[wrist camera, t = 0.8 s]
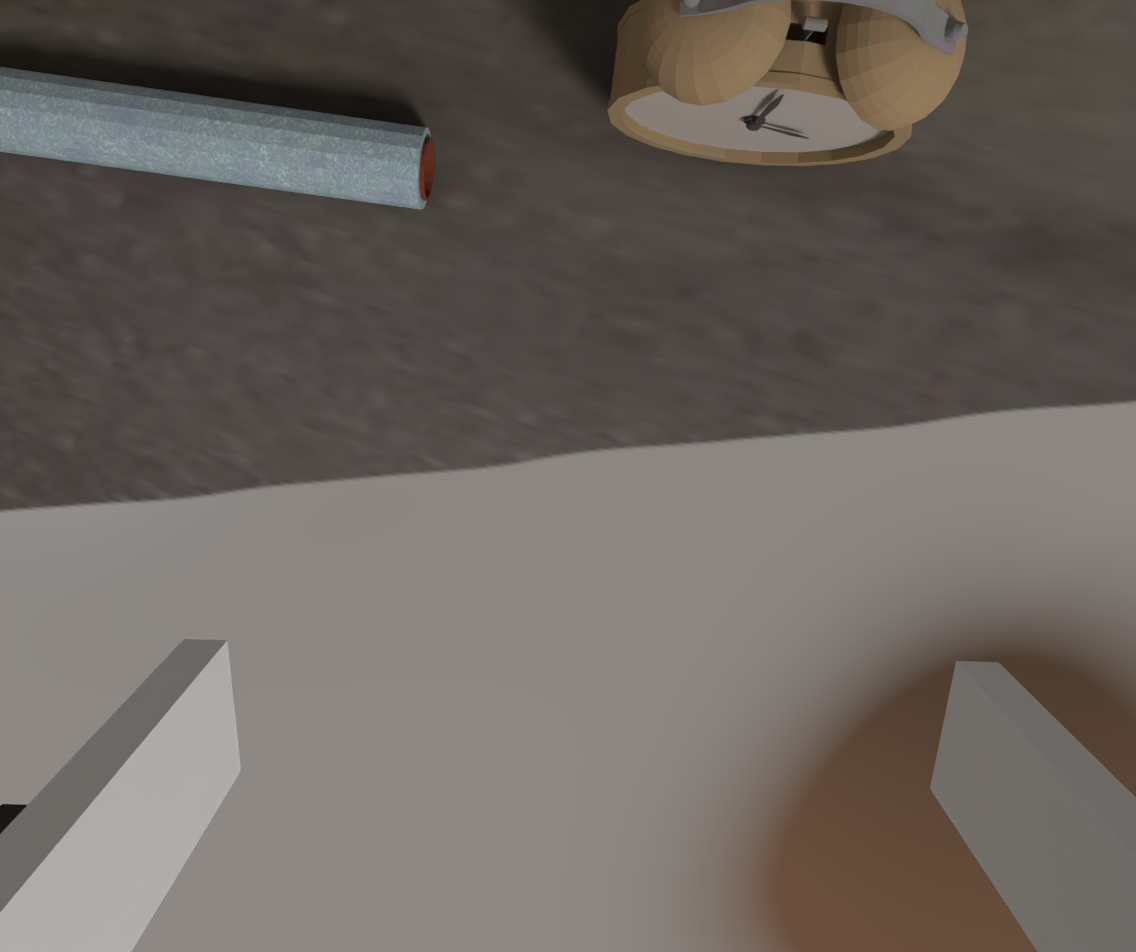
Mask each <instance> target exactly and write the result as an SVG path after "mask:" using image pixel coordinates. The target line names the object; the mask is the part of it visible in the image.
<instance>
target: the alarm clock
mask: <svg viewBox="0 0 1136 952" xmlns="http://www.w3.org/2000/svg"><path fill="white" fill-rule="evenodd" d="M967 34H968V26H967V24H966V20H965V14H964V10H963V7H962V4H961V0H640V1H638V2H636V3H634V4H633V5H631V6H630V7H629V8H628V10H627V11H626V13H625V14H624V16H623V17H622V19H621V20H620V22H619V23H618V28H617V36H618V40H617V49H616V57H615V65H614V73H613V82H612V90H611V98H610V101H609V102H608V110H607V111H608V114H609V117H610V121H611V124H613V125H614V126H615V127H617V128H618V129H619V130H620V131H622V132H623V133H624V134H626V135H627V136H629V137H632V138H634V139H636V140H639V141H641V142H644V143H646V144H648V145H651V146H653V147H657V148H661V149H664V150H668V151H672V152H675V153H679V154H683V155H688V156H693V157H699V158H705V159H711V160H717V161H723V162H733V163H744V164H755V165H779V166H809V165H826V164H840V163H846V162H852V161H858V160H864V159H870V158H874V157H877V156H879V155H882V154H885V153H888V152H891V151H894V150H897V149H898V148H899V147H900V146H901V145H902V144H904V143H905V142H906V141H907V140H908V139H909V138H910V137H911V132H912V123H915V122H917V121H919V120H921V119H923V118H925V117H926V116H927V115H928V114H929V113H931V112H932V111H933V110H934V109H935V108H936V107H937V106H938V105H939V104H940V103H941V102H942V101H943V100H944V99H945V98H946V96H947V95H948V93H949V91H950V90H951V88H952V86H953V84H954V82H955V81H956V79H957V77H958V75H959V72H960V68H961V65H962V62H963V58H964V55H965V48H966V38H967Z"/></svg>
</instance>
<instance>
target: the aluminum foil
mask: <svg viewBox="0 0 1136 952" xmlns="http://www.w3.org/2000/svg"><path fill="white" fill-rule="evenodd" d="M0 152H8V153H15V154H22V155H29V156H37V157H44V158H51V159H58V160H66V161H73V162H80V163H87V164H95V165H102V166H109V167H116V168H124V169H131V170H138V171H145V172H153V173H160V174H167V175H175V176H182V177H189V178H196V179H204V180H211V181H218V182H225V183H233V184H240V185H247V186H254V187H262V188H269V189H276V190H283V191H291V192H298V193H305V194H312V195H320V196H327V197H334V198H341V199H349V200H356V201H363V202H370V203H378V204H385V205H392V206H399V207H407V208H414V209H421V210H422V209H423V208H424V207H425V205H426V202H427V200H429V197H430V195H431V190H432V185H433V177H434V144H433V140H432V138H431V136H430V131H429V129H428V128H427V127H420V126H413V125H406V124H399V123H392V122H385V121H378V120H371V119H364V118H357V117H350V116H343V115H336V114H329V113H322V112H315V111H308V110H301V109H294V108H287V107H280V106H273V105H265V104H258V103H251V102H244V101H237V100H230V99H223V98H216V97H209V96H202V95H195V94H188V93H181V92H174V91H167V90H160V89H153V88H146V87H139V86H132V85H125V84H118V83H111V82H104V81H97V80H90V79H83V78H76V77H69V76H62V75H55V74H48V73H41V72H34V71H27V70H20V69H13V68H6V67H0Z"/></svg>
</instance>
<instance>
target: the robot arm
mask: <svg viewBox="0 0 1136 952" xmlns="http://www.w3.org/2000/svg"><path fill="white" fill-rule="evenodd" d="M236 729H237V728H236V719H235V709H234V700H233V691H232V681H231V671H230V662H229V653H228V643H227V641H226V640H193V639H191V640H190V639H184V640H183V641H182V642H181V643H180V644H179V645H178V646H177V647H176V648H175V650H173V652H172V653H171V654H170V655H169V656H168V657H167V658H166V659H165V660H164V661H163V662H162V663H161V664H160V665H159V666H158V667H157V668H156V669H155V671H154V672H153V673H152V674H151V675H150V676H149V677H148V678H147V679H146V680H145V681H144V682H143V683H142V684H141V685H140V687H139V688H138V689H137V690H136V691H135V692H134V693H133V694H132V695H131V696H130V697H129V698H128V699H127V700H126V701H125V703H123V704H122V706H121V707H120V708H119V709H118V710H117V711H116V712H115V713H114V714H113V715H112V716H111V717H110V718H109V719H108V720H107V722H105V724H104V725H103V726H102V727H101V728H100V729H99V730H98V731H97V732H96V733H95V734H94V735H93V737H91V738H90V739H89V740H88V742H87V743H86V744H85V745H84V746H83V747H82V748H81V749H80V750H79V751H78V752H77V753H76V754H75V755H74V757H72V759H71V760H70V761H69V762H68V763H67V764H66V765H65V766H64V767H63V768H62V769H61V770H60V771H59V772H58V773H57V774H56V775H55V777H54V778H53V779H52V780H51V781H50V782H49V783H48V784H47V785H46V786H45V787H44V788H43V789H42V790H41V791H40V792H39V793H38V795H37V796H36V797H35V798H34V799H33V800H32V801H31V802H30V803H29V804H28V805H12V804H2V805H1V806H0V952H131V951H132V950H133V948H134V946H135V945H136V943H137V941H138V940H139V938H140V936H141V935H142V933H143V932H144V930H145V928H146V927H147V925H148V923H149V922H150V920H151V918H152V917H153V915H154V913H155V912H156V910H157V908H158V907H159V905H160V903H161V902H162V900H163V899H164V897H165V895H166V894H167V892H168V890H169V889H170V887H171V885H172V883H173V882H174V880H175V879H176V877H177V875H178V874H179V872H180V871H181V869H182V867H183V865H184V864H185V862H186V861H187V859H188V857H189V856H190V854H191V852H192V850H193V849H194V847H195V846H196V844H197V842H198V841H199V839H200V838H201V836H202V834H203V833H204V831H205V829H206V828H207V826H208V824H209V823H210V821H211V819H212V818H213V816H214V814H215V813H216V811H217V809H218V808H219V806H220V804H221V803H222V801H223V799H224V798H225V796H226V794H227V793H228V791H229V790H230V788H231V786H232V785H233V783H234V781H235V780H236V778H237V776H238V775H239V773H240V771H241V766H240V756H239V748H238V737H237V730H236ZM930 789H931V791H932V792H933V793H934V795H935V797H936V798H937V800H938V801H939V803H940V804H941V806H942V807H943V809H944V810H945V812H946V813H947V815H948V816H949V818H950V819H951V821H952V822H953V824H954V825H955V827H956V828H957V830H958V831H959V833H960V834H961V836H962V838H963V839H964V840H965V842H966V844H967V845H968V847H969V848H970V850H971V851H972V853H973V854H974V856H975V857H976V859H977V860H978V862H979V863H980V864H981V866H982V868H983V869H984V871H985V872H986V874H987V875H988V877H989V878H990V880H991V881H992V883H993V884H994V886H995V888H996V889H997V890H998V892H999V894H1000V895H1001V896H1002V898H1003V900H1004V901H1005V903H1006V904H1007V906H1008V907H1009V909H1010V910H1011V912H1012V913H1013V915H1014V916H1015V918H1016V919H1017V921H1018V922H1019V924H1020V925H1021V927H1022V928H1023V930H1024V931H1025V933H1026V934H1027V936H1028V937H1029V939H1030V941H1031V942H1032V944H1033V945H1034V947H1035V948H1036V950H1037V951H1038V952H1136V798H1135V797H1134V796H1133V795H1132V794H1131V793H1130V792H1129V791H1128V790H1127V789H1126V788H1125V787H1124V786H1123V785H1122V784H1121V783H1120V782H1119V781H1118V780H1117V779H1116V778H1115V777H1114V776H1113V775H1112V774H1111V773H1110V772H1109V771H1108V770H1107V769H1106V768H1105V767H1104V766H1103V765H1102V764H1101V763H1100V762H1099V761H1098V760H1097V759H1096V758H1095V757H1094V756H1093V755H1092V754H1091V753H1090V752H1089V751H1088V750H1086V748H1085V747H1084V746H1083V745H1082V744H1081V743H1080V742H1079V741H1078V740H1077V739H1076V738H1074V737H1073V736H1072V735H1071V734H1070V733H1069V732H1068V731H1067V730H1066V729H1065V728H1064V727H1063V726H1062V725H1061V724H1060V723H1059V722H1058V721H1057V720H1056V719H1055V718H1054V717H1053V716H1052V715H1051V714H1050V713H1049V712H1048V711H1047V710H1046V709H1045V708H1044V707H1043V706H1042V705H1041V704H1040V703H1039V702H1038V701H1037V700H1036V699H1035V698H1034V697H1033V696H1032V695H1031V694H1030V693H1029V692H1028V691H1027V690H1026V689H1025V688H1024V687H1023V686H1022V685H1021V684H1020V683H1019V682H1018V681H1017V680H1016V679H1015V678H1014V677H1013V676H1012V675H1011V674H1010V673H1009V672H1008V671H1007V670H1006V669H1005V668H1003V667H1002V666H1001V665H1000V664H999V663H998V662H968V661H967V662H966V661H956V666H955V670H954V675H953V680H952V685H951V689H950V694H949V700H948V704H947V709H946V714H945V720H944V724H943V729H942V733H941V738H940V743H939V748H938V753H937V758H936V763H935V768H934V773H933V777H932V782H931V787H930Z"/></svg>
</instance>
